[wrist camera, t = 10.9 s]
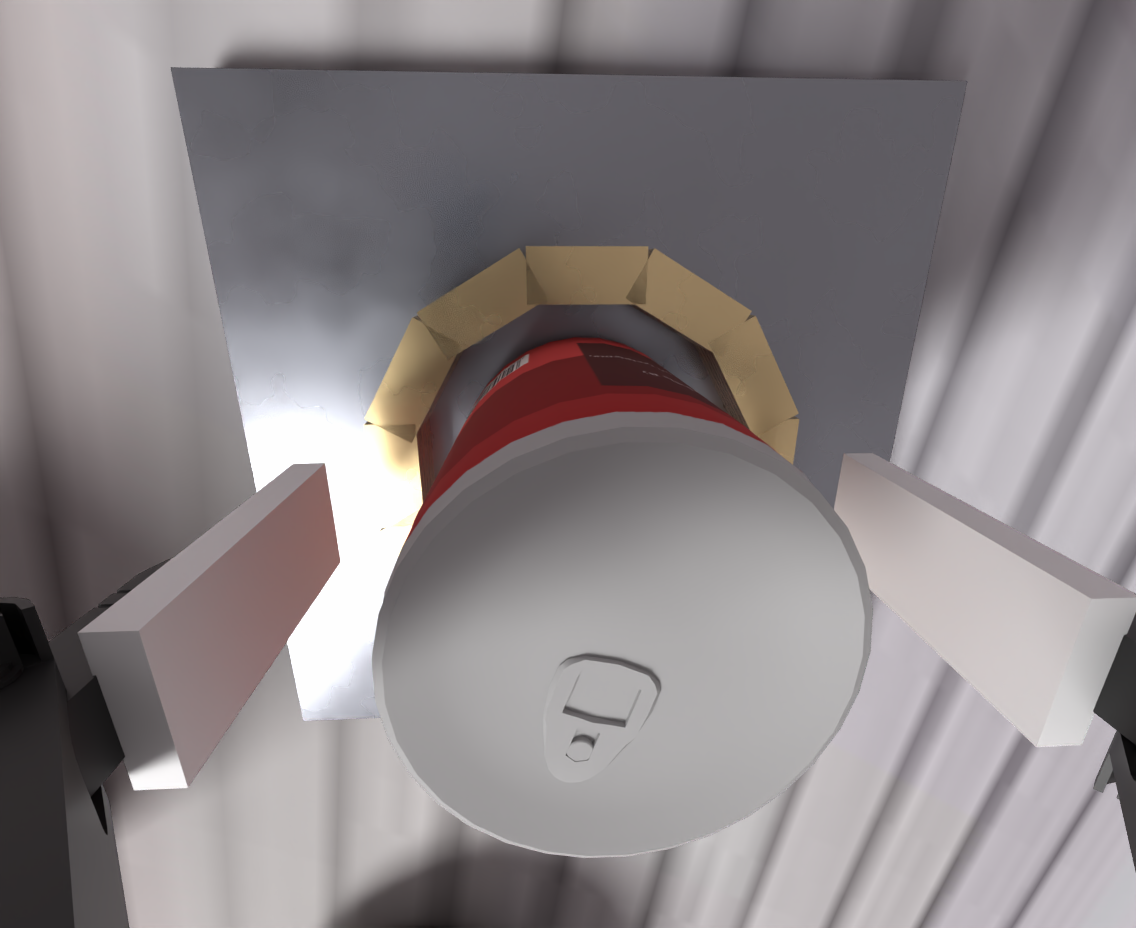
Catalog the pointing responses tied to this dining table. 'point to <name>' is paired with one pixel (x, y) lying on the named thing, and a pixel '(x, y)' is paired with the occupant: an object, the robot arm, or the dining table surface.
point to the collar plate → (548, 270)
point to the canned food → (615, 613)
